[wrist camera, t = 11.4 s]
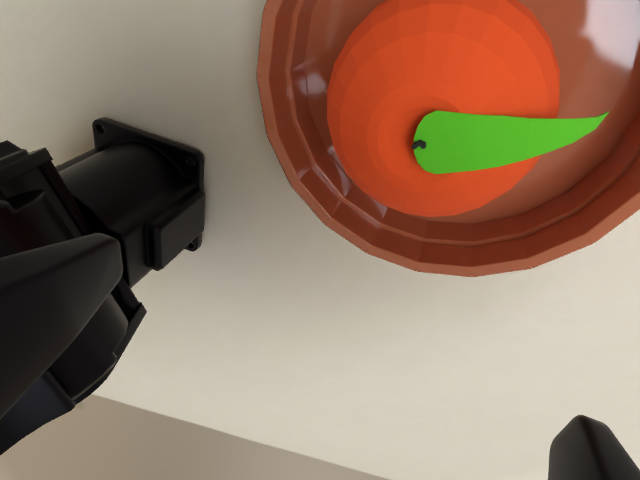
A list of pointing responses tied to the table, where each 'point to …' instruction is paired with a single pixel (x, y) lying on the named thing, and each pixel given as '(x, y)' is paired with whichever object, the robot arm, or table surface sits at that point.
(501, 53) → the clementine
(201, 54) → the table surface
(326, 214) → the terracotta bowl
